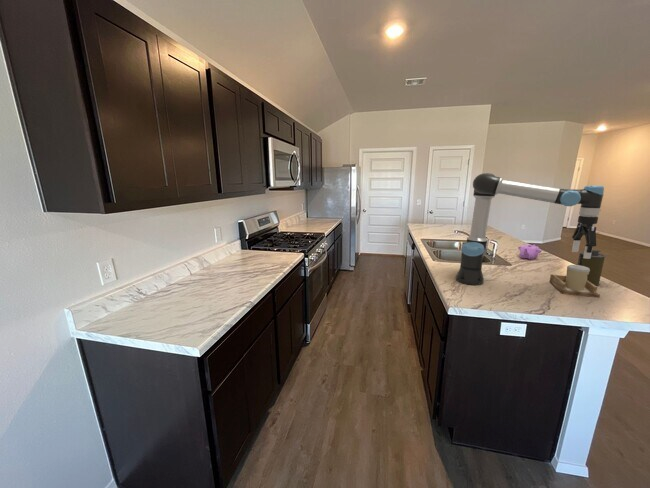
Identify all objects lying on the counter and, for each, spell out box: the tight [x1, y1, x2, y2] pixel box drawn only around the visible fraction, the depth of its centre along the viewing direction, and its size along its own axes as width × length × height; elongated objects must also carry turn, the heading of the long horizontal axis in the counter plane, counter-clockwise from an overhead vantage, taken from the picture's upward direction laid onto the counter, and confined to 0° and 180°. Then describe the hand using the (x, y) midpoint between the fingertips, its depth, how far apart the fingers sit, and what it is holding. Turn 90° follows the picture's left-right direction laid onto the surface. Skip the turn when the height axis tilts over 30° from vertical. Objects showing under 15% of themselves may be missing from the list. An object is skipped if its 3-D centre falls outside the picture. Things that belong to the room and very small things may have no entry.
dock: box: [548, 274, 601, 298], centre depth 154 cm, size 16×18×5 cm
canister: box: [577, 248, 606, 287], centre depth 162 cm, size 11×10×20 cm
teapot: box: [517, 243, 542, 261], centre depth 213 cm, size 15×13×11 cm
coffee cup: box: [565, 264, 590, 290], centre depth 151 cm, size 9×9×12 cm
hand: (580, 255), depth 149 cm, fingers open, 13 cm apart
